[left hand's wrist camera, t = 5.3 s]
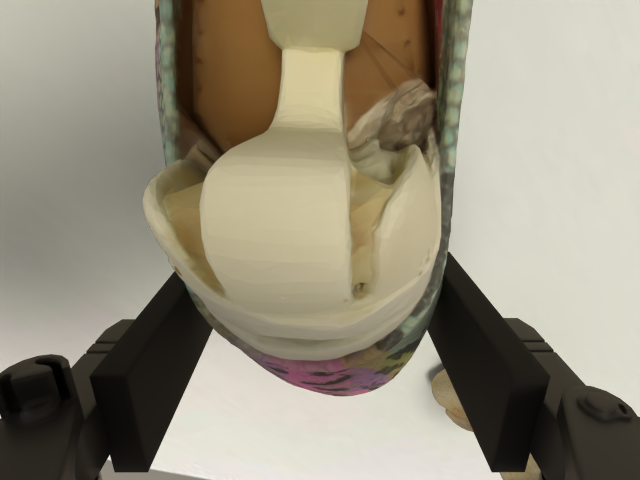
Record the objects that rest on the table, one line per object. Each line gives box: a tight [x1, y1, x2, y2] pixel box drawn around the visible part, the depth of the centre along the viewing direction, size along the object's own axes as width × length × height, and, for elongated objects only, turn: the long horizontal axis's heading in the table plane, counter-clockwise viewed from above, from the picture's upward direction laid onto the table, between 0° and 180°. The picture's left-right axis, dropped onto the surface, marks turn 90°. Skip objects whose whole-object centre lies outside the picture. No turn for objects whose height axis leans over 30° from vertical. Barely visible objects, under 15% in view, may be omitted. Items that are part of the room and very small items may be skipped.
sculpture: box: [432, 369, 540, 480], centre depth 22 cm, size 6×7×15 cm
